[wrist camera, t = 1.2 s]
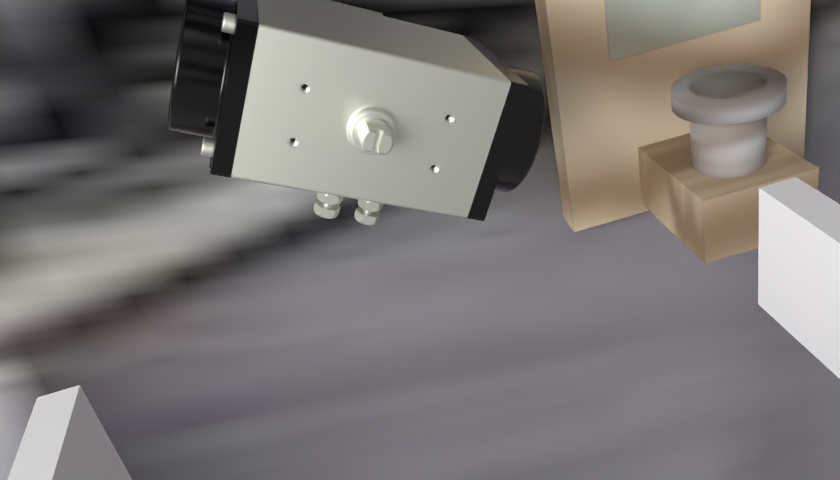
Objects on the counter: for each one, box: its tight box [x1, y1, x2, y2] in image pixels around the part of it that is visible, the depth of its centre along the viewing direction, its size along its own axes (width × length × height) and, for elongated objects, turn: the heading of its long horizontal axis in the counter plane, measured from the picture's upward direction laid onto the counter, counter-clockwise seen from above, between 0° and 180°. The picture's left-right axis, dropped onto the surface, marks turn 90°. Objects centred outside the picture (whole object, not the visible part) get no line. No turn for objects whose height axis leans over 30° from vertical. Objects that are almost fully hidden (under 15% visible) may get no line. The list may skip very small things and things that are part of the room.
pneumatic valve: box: [168, 0, 545, 225], centre depth 28 cm, size 6×12×12 cm, turn 74°
